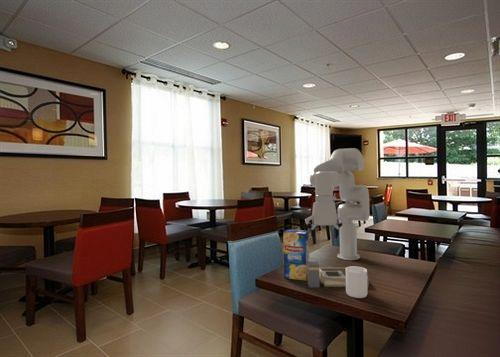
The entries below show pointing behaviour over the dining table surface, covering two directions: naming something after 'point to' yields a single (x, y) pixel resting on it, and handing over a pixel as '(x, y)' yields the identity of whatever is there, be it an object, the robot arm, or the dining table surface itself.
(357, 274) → the mug
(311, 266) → the block
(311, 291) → the dining table surface
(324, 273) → the box
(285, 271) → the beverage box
